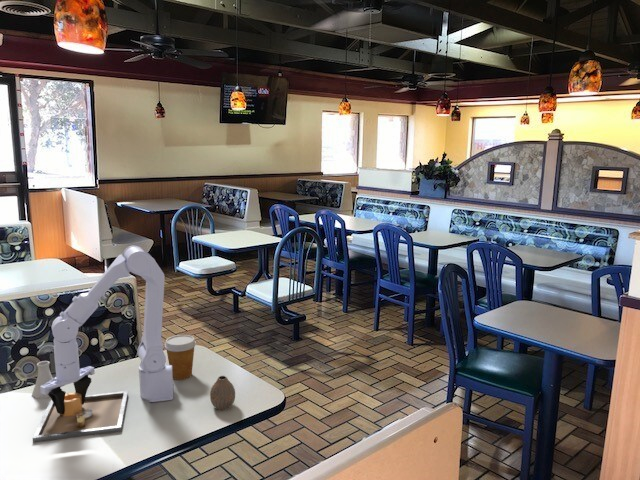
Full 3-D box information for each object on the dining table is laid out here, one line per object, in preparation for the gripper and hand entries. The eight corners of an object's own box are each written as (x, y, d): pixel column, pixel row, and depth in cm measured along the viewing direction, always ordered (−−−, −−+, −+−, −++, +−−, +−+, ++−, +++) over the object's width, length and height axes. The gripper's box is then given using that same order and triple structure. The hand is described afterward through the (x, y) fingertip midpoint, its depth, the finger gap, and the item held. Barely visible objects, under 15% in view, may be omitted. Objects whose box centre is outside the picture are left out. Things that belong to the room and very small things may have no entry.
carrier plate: (128, 397, 149) (128, 394, 149) (121, 434, 130) (121, 431, 130) (51, 405, 144) (51, 403, 144) (33, 445, 125) (32, 442, 125)
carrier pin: (85, 424, 133) (85, 414, 133) (84, 427, 131) (83, 418, 131) (78, 425, 133) (77, 415, 132) (76, 428, 131) (76, 419, 130)
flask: (48, 402, 145) (45, 369, 144) (25, 400, 147) (22, 367, 145) (65, 391, 152) (63, 359, 151) (44, 388, 154) (41, 356, 152)
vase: (240, 406, 145) (240, 377, 143) (220, 415, 140) (219, 385, 138) (225, 398, 149) (224, 369, 148) (205, 406, 144) (204, 377, 143)
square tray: (128, 394, 149) (127, 390, 149) (121, 431, 130) (120, 427, 130) (51, 403, 144) (51, 399, 143) (32, 442, 125) (32, 438, 124)
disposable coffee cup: (192, 367, 170) (191, 332, 167) (200, 378, 161) (199, 342, 159) (163, 372, 165) (161, 337, 163) (169, 384, 157) (167, 347, 155)
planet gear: (83, 405, 143) (82, 391, 142) (79, 414, 138) (78, 400, 137) (62, 407, 141) (61, 393, 140) (58, 417, 136) (57, 403, 136)
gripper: (81, 348, 145) (85, 393, 147) (31, 367, 133) (36, 416, 135) (98, 353, 142) (101, 399, 144) (48, 373, 129) (52, 423, 132)
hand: (70, 408), depth 139 cm, fingers closed on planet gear, 5 cm apart
